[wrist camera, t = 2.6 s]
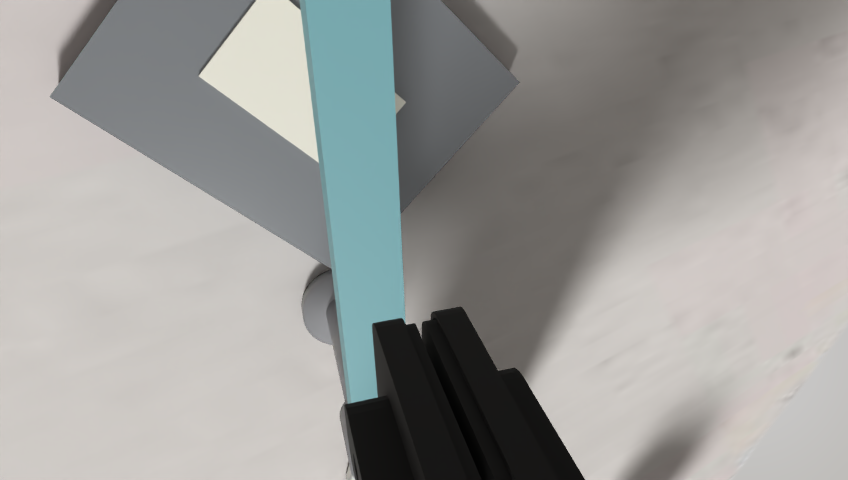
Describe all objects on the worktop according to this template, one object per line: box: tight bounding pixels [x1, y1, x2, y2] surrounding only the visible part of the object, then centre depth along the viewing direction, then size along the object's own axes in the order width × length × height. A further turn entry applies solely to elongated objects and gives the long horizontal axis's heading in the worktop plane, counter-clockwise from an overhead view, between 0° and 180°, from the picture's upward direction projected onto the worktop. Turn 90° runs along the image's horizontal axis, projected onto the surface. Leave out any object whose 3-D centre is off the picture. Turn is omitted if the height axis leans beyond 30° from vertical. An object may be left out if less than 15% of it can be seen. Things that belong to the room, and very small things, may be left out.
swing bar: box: [300, 0, 405, 478], centre depth 22 cm, size 23×3×3 cm, turn 1°
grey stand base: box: [50, 0, 519, 401], centre depth 27 cm, size 20×18×9 cm
